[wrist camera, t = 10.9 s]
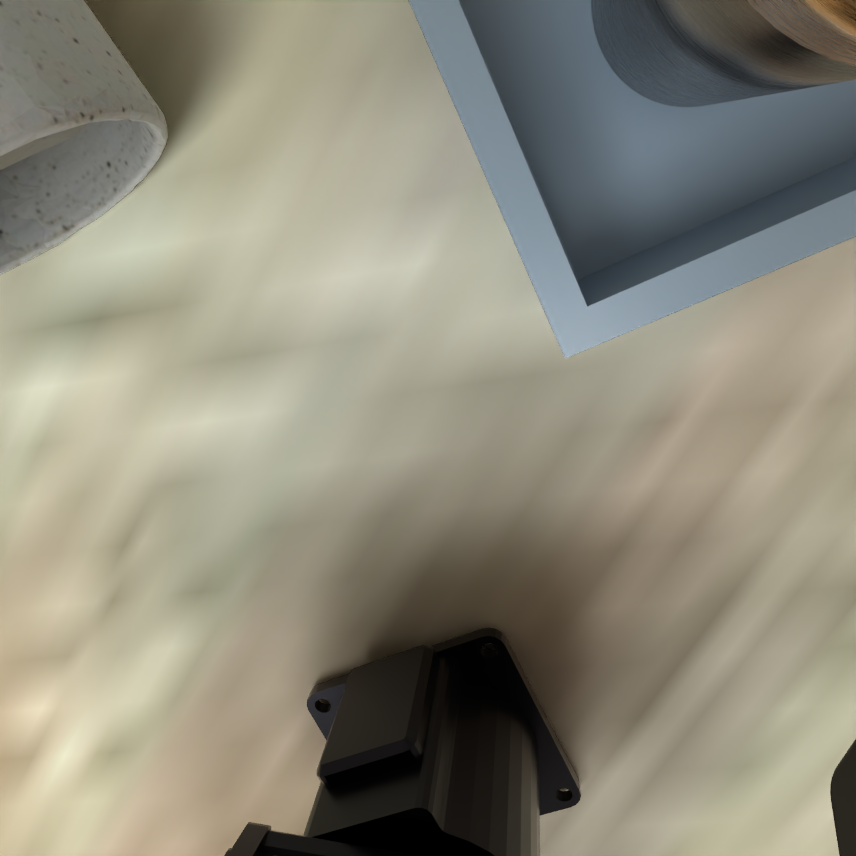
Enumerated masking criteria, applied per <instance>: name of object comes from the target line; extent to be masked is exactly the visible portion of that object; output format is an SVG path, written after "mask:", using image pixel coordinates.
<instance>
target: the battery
mask: <svg viewBox="0 0 856 856" xmlns="http://www.w3.org/2000/svg"><path fill="white" fill-rule="evenodd" d="M591 13H592V21H593V27H594V32H595V35H596V38H597V42H598V45H599V47H600V49H601V51H602V54H603V56H604V58H605V59H606V61H607V63H608V64H609V66H610V67H611V69H612V70H613V71H614V73H615V74H616V75H617V76H618V77H619V78H620V80H621V81H623V82H624V83H625V84H626V85H627V86H628V87H629V88H631V89H632V90H634V91H635V92H637V93H638V94H640V95H641V96H643V97H645V98H648V99H650V100H652V101H654V102H658V103H661V104H664V105H669V106H676V107H699V106H706V105H712V104H718V103H724V102H730V101H736V100H742V99H747V98H753V97H759V96H765V95H771V94H777V93H782V92H788V91H794V90H800V89H806V88H811V87H817V86H823V85H829V84H835V83H841V82H846V81H852V80H856V0H591Z"/></svg>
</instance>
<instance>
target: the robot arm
mask: <svg viewBox="0 0 856 856" xmlns="http://www.w3.org/2000/svg"><path fill="white" fill-rule="evenodd" d="M487 643H491V644H493V645H495V646H496V647H497V648H495V649H494V650H487V649H485V648H484V647H483V646H482V645H484V644H487ZM319 699H325V700H327V701H328V702H329V703H330V704H324V703H322V702H321V701H320V700H319ZM307 707H308V710H309V712H310V713H311V715H312V717H313V718H314V720H315V722H316V723H317V725H318V727H319V728H320V730H321V732H322V733H323V735H324V736H325V738H326V740H327V742H326V745H325V748H324V751H323V754H322V757H321V760H320V763H319V766H318V769H317V776H318V777H319V779H320V781H321V783H320V786H319V789H318V792H317V795H316V798H315V801H314V804H313V807H312V810H311V813H310V816H309V820H308V823H307V826H306V829H305V832H304V835H303V836H301V835H295V834H289V833H283V832H277V831H271V826H269V825H263V824H257V823H251V822H249V823H248V824H247V825H246V827H245V829H244V830H243V832H242V833H241V835H240V836H239V838H238V840H237V841H236V843H235V844H234V846H233V847H232V848H230V849H228V851H227V852H226V854H225V856H540V821H539V815H543V814H547V813H551V812H554V811H558V810H562V809H565V808H569V807H572V806H574V805H576V804H577V803H578V802H579V801H580V797H581V792H580V784H579V780H578V778H577V776H576V774H575V772H574V770H573V768H572V766H571V764H570V762H569V760H568V759H567V757H566V755H565V753H564V751H563V749H562V747H561V745H560V743H559V741H558V739H557V737H556V735H555V733H554V731H553V729H552V727H551V725H550V723H549V721H548V719H547V717H546V715H545V713H544V711H543V710H542V708H541V706H540V704H539V702H538V700H537V698H536V696H535V694H534V692H533V690H532V688H531V686H530V684H529V682H528V680H527V678H526V676H525V674H524V672H523V670H522V668H521V666H520V664H519V663H518V661H517V659H516V657H515V655H514V653H513V651H512V649H511V647H510V645H509V643H508V641H507V639H506V637H505V636H504V635H503V633H502V632H500V631H498V630H497V629H493V628H485V629H481V630H478V631H475V632H472V633H469V634H466V635H463V636H460V637H457V638H454V639H451V640H448V641H445V642H442V643H439V644H436V645H433V646H425V645H422V646H419V647H416V648H413V649H410V650H407V651H404V652H401V653H398V654H396V655H393V656H390V657H387V658H384V659H381V660H378V661H375V662H372V663H369V664H366V665H363V666H360V667H357V668H354V669H353V670H351V672H350V674H348V675H345V676H342V677H339V678H336V679H333V680H330V681H327V682H324V683H321V684H318V685H317V686H315V687H314V688H313V689H312V691H311V692H310V695H309V697H308V700H307ZM561 788H566V789H569V790H568V791H560V790H559V789H561ZM831 802H832V809H833V815H834V822H835V828H836V835H837V841H838V848H839V854H840V856H856V740H855V741H854V742H853V744H852V745H851V747H850V748H849V750H848V751H847V753H846V754H845V756H844V757H843V759H842V760H841V762H840V763H839V764H838V766H837V767H836V769H835V771H834V774H833V777H832V781H831Z"/></svg>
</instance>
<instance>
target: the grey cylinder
mask: <svg viewBox="0 0 856 856" xmlns="http://www.w3.org/2000/svg"><path fill="white" fill-rule="evenodd" d="M167 140H168V127H167V124H166V120H165V117H164V114H163V112H162V111H161V109H160V108H159V107H158V105H157V104H156V102H155V101H154V100H153V98H152V97H151V95H150V94H149V92H148V91H147V90H146V88H145V87H144V85H143V84H142V83H141V81H140V80H139V78H138V77H137V75H136V74H135V73H134V71H133V70H132V68H131V67H130V65H129V64H128V63H127V61H126V60H125V58H124V57H123V55H122V54H121V53H120V51H119V50H118V48H117V47H116V45H115V44H114V43H113V41H112V40H111V38H110V37H109V35H108V34H107V33H106V31H105V30H104V28H103V27H102V25H101V24H100V22H99V21H98V20H97V18H96V17H95V15H94V14H93V13H92V11H91V10H90V8H89V7H88V5H87V4H86V3H85V1H84V0H0V274H3V273H5V272H7V271H10V270H12V269H14V268H15V267H17V266H19V265H21V264H22V263H25V262H27V261H29V260H31V259H33V258H35V257H37V256H39V255H40V254H42V253H44V252H46V251H48V250H50V249H51V248H53V247H55V246H57V245H59V244H60V243H61V242H63V241H64V240H65V239H66V238H68V237H69V236H70V235H72V234H73V233H75V232H76V231H78V230H79V229H81V228H82V227H84V226H86V225H88V224H89V223H91V222H93V221H95V220H96V219H97V218H99V217H100V216H102V215H103V214H104V213H105V212H107V211H108V210H109V209H110V208H111V207H113V206H114V205H115V204H116V203H117V202H119V201H120V200H121V199H122V198H123V197H124V196H126V195H127V194H129V193H130V192H132V190H133V189H134V187H135V186H136V184H138V183H139V182H141V181H142V180H143V179H144V178H145V177H146V176H147V174H148V173H149V172H150V171H151V169H152V168H153V166H154V164H155V163H156V162H157V160H158V159H159V157H160V156H161V154H162V152H163V151H164V148H165V146H166V144H167Z"/></svg>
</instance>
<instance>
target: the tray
mask: <svg viewBox="0 0 856 856" xmlns="http://www.w3.org/2000/svg"><path fill="white" fill-rule="evenodd" d="M409 3H410V5H411V7H412V9H413V12H414V14H415V16H416V19H417V21H418V23H419V25H420V28H421V30H422V32H423V35H424V37H425V39H426V41H427V44H428V46H429V48H430V51H431V53H432V55H433V57H434V60H435V62H436V64H437V67H438V69H439V71H440V73H441V76H442V78H443V80H444V83H445V85H446V87H447V90H448V92H449V94H450V96H451V99H452V101H453V103H454V106H455V108H456V110H457V112H458V115H459V117H460V119H461V122H462V124H463V126H464V128H465V131H466V133H467V135H468V138H469V140H470V142H471V144H472V147H473V149H474V151H475V154H476V156H477V158H478V160H479V163H480V165H481V167H482V170H483V172H484V174H485V176H486V179H487V181H488V183H489V186H490V188H491V190H492V193H493V195H494V197H495V199H496V202H497V204H498V206H499V209H500V211H501V213H502V215H503V218H504V220H505V222H506V225H507V227H508V229H509V231H510V234H511V236H512V238H513V241H514V243H515V245H516V247H517V250H518V252H519V254H520V257H521V259H522V261H523V263H524V266H525V268H526V270H527V273H528V275H529V277H530V280H531V282H532V284H533V286H534V289H535V291H536V293H537V296H538V298H539V300H540V302H541V305H542V307H543V309H544V312H545V314H546V316H547V318H548V321H549V323H550V325H551V328H552V330H553V332H554V334H555V337H556V339H557V341H558V344H559V346H560V348H561V350H562V353H563V355H564V357H565V358H568V357H570V356H572V355H575V354H577V353H580V352H582V351H584V350H587V349H589V348H591V347H594V346H596V345H599V344H601V343H603V342H606V341H608V340H611V339H613V338H615V337H618V336H620V335H622V334H625V333H627V332H630V331H632V330H634V329H637V328H639V327H641V326H644V325H646V324H649V323H651V322H653V321H656V320H658V319H660V318H663V317H665V316H668V315H670V314H672V313H675V312H677V311H679V310H682V309H684V308H687V307H689V306H691V305H694V304H696V303H699V302H701V301H703V300H706V299H708V298H710V297H713V296H715V295H718V294H720V293H722V292H725V291H727V290H729V289H732V288H734V287H737V286H739V285H741V284H744V283H746V282H748V281H751V280H753V279H756V278H758V277H760V276H763V275H765V274H767V273H770V272H772V271H775V270H777V269H779V268H782V267H784V266H787V265H789V264H791V263H794V262H796V261H798V260H801V259H803V258H806V257H808V256H810V255H813V254H815V253H817V252H820V251H822V250H825V249H827V248H829V247H832V246H834V245H836V244H839V243H841V242H844V241H846V240H848V239H851V238H853V237H855V236H856V80H852V81H846V82H841V83H835V84H829V85H823V86H817V87H811V88H806V89H800V90H794V91H788V92H782V93H777V94H771V95H765V96H759V97H753V98H747V99H742V100H736V101H730V102H724V103H718V104H712V105H706V106H699V107H676V106H669V105H664V104H661V103H658V102H654V101H652V100H650V99H648V98H645V97H643V96H641V95H640V94H638V93H637V92H635V91H634V90H632V89H631V88H629V87H628V86H627V85H626V84H625V83H624V82H623V81H621V80H620V78H619V77H618V76H617V75H616V74H615V73H614V71H613V70H612V69H611V67H610V66H609V64H608V63H607V61H606V59H605V58H604V56H603V54H602V51H601V49H600V47H599V45H598V42H597V38H596V35H595V32H594V27H593V21H592V13H591V0H409Z"/></svg>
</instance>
